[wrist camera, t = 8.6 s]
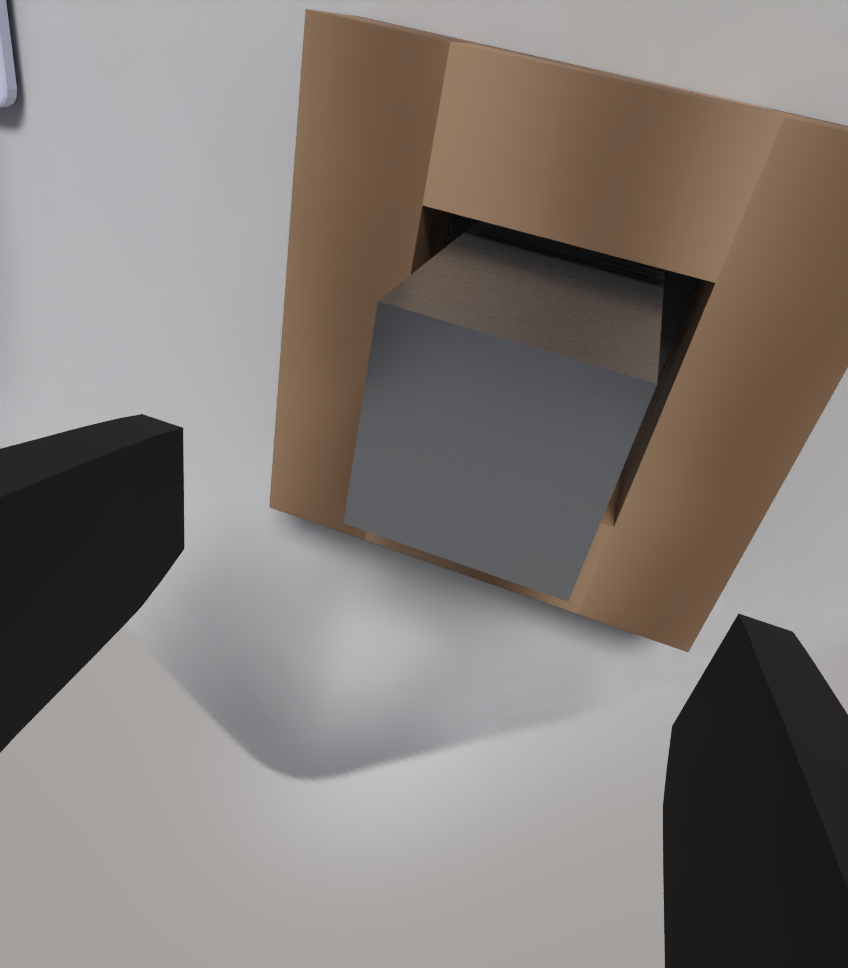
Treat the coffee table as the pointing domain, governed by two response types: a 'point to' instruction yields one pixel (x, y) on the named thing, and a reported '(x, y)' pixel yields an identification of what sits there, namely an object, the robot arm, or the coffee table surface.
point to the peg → (505, 403)
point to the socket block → (588, 224)
